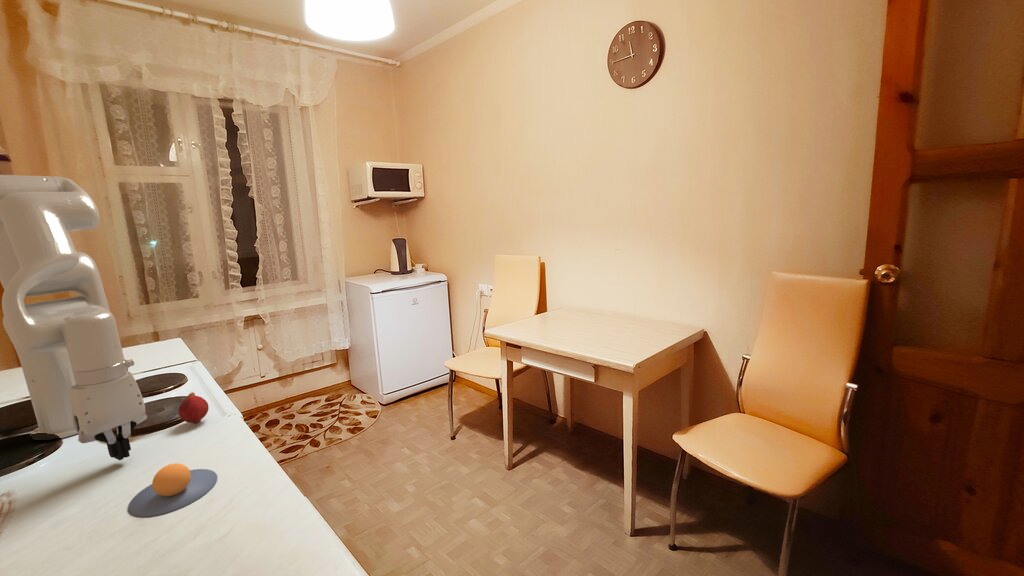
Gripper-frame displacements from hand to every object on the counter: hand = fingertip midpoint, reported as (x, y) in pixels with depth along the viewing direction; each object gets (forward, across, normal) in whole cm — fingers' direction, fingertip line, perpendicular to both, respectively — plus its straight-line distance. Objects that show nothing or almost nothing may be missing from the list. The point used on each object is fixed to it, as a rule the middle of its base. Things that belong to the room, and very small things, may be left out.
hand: (121, 456), depth 88 cm
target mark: (+2, 0, +21) cm, 21 cm away
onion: (+2, -16, -4) cm, 17 cm away
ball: (-1, +1, +22) cm, 22 cm away
